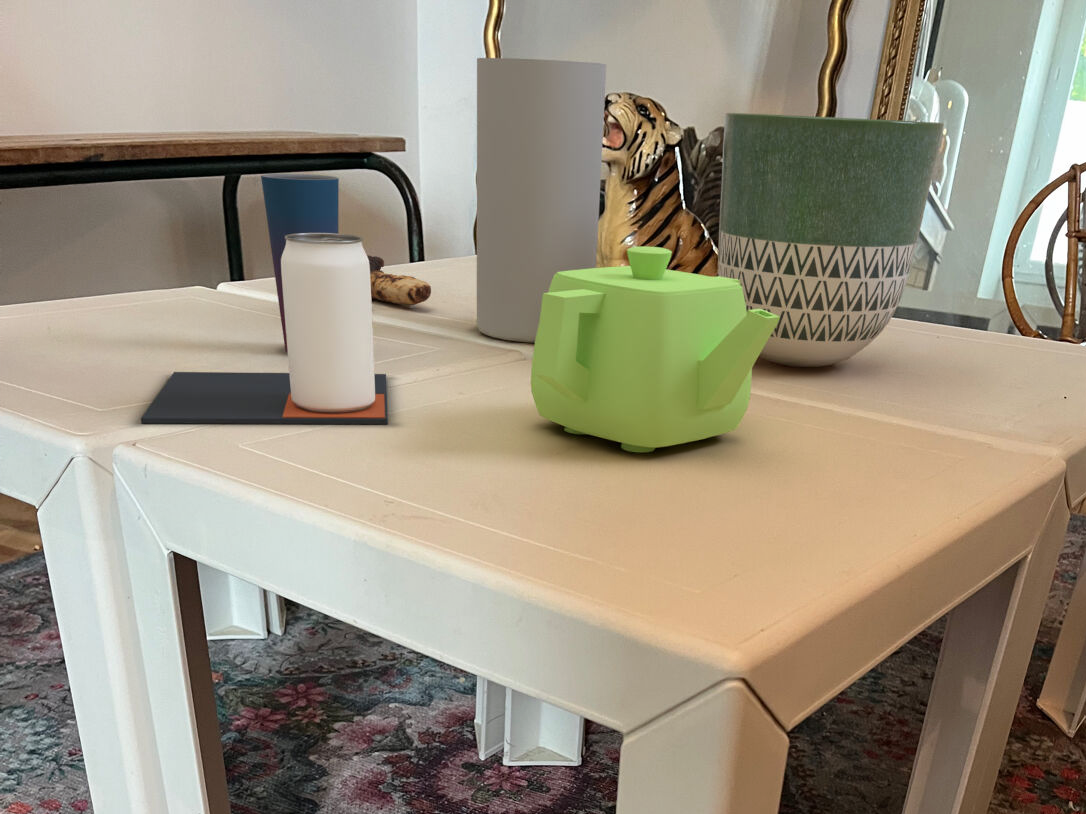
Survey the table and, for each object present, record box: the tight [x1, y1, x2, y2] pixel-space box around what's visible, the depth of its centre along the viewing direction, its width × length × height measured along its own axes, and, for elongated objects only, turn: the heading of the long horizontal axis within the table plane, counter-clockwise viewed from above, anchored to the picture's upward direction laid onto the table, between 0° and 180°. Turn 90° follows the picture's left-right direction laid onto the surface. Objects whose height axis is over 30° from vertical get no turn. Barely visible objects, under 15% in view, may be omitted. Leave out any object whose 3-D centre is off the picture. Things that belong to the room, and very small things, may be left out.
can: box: [281, 233, 375, 413], centre depth 85 cm, size 6×6×12 cm
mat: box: [140, 371, 389, 425], centre depth 91 cm, size 18×16×1 cm
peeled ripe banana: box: [366, 254, 432, 306], centre depth 133 cm, size 9×5×18 cm
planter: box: [717, 112, 945, 368], centre depth 107 cm, size 20×20×21 cm
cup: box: [260, 173, 340, 353], centre depth 104 cm, size 7×7×15 cm
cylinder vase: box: [476, 57, 607, 344], centre depth 114 cm, size 12×12×25 cm
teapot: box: [530, 246, 780, 453], centre depth 81 cm, size 18×20×13 cm
